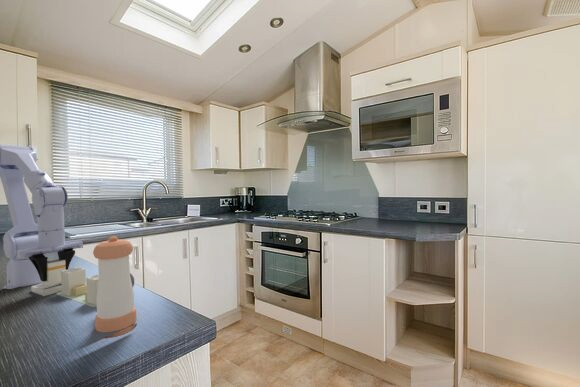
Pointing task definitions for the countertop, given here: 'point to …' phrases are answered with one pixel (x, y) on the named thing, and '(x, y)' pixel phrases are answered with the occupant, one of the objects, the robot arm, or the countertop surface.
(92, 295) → the block
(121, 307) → the salt shaker
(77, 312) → the countertop surface
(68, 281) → the left fuse
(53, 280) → the block
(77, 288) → the fuse block
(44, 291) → the tray
